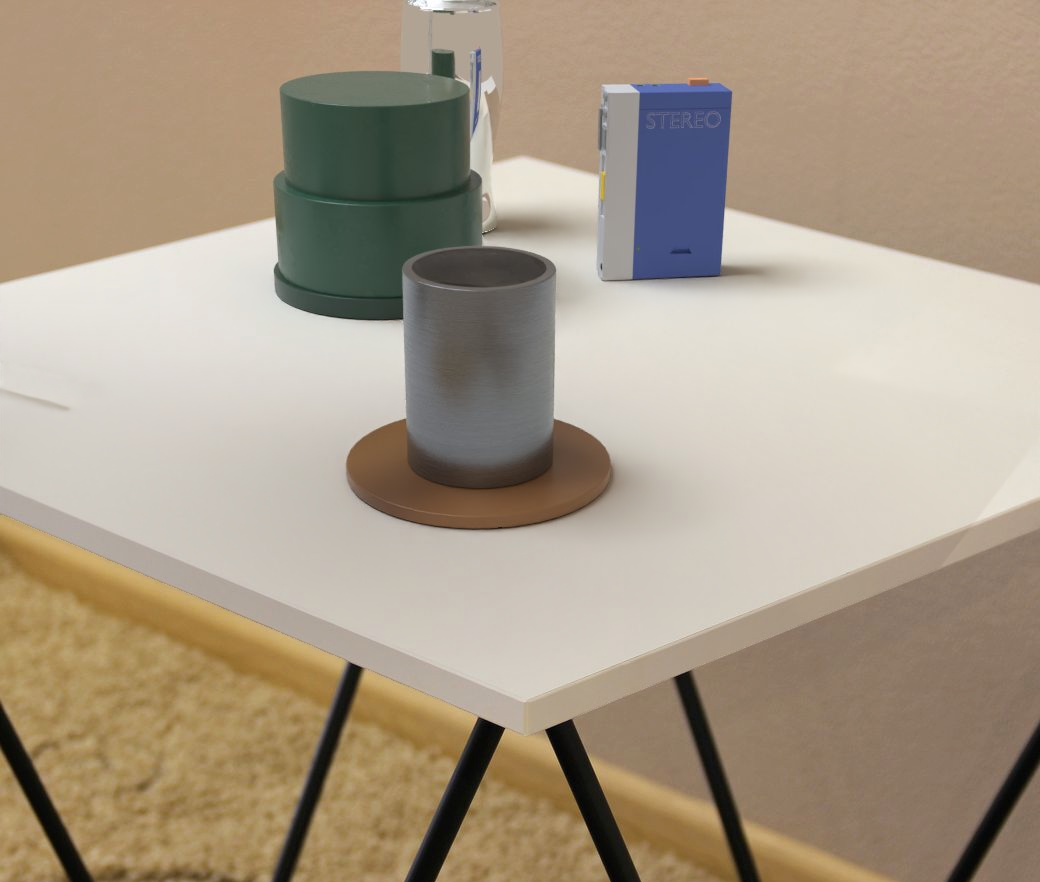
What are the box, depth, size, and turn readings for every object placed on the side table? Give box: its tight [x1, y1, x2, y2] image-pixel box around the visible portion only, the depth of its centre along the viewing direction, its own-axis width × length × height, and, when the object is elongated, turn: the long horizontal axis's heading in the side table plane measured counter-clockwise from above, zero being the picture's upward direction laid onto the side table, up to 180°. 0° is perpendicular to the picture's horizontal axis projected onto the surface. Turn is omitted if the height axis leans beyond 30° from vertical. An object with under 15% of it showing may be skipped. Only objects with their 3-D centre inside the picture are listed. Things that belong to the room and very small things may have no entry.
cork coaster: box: [345, 418, 612, 529], centre depth 69 cm, size 12×12×1 cm
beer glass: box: [399, 0, 505, 232], centre depth 104 cm, size 7×7×15 cm
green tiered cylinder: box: [272, 70, 483, 320], centre depth 91 cm, size 13×13×12 cm
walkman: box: [596, 77, 733, 281], centre depth 95 cm, size 8×3×12 cm, turn 102°
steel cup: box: [402, 245, 557, 489], centre depth 67 cm, size 7×7×9 cm
